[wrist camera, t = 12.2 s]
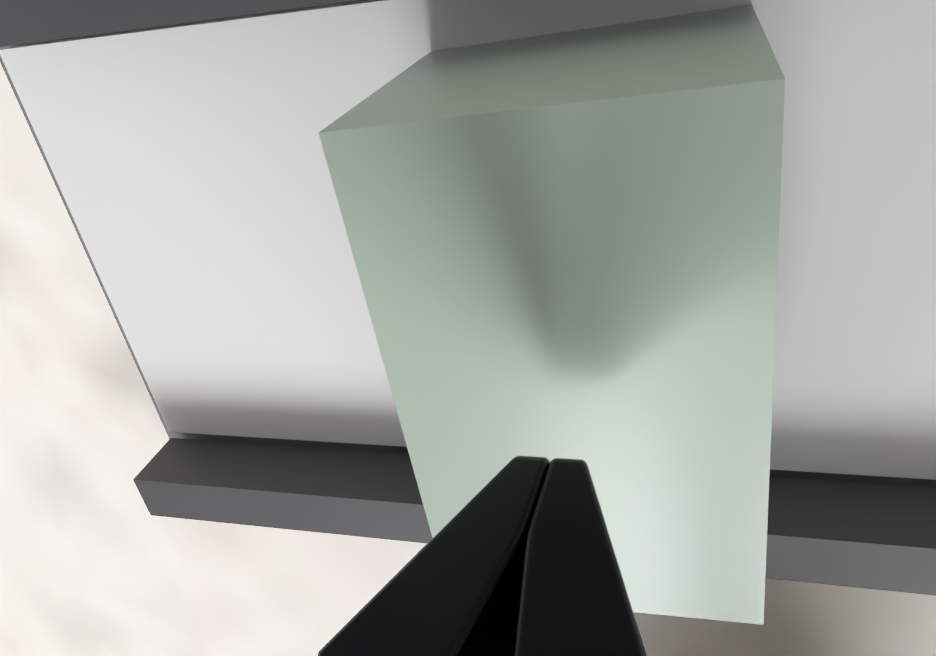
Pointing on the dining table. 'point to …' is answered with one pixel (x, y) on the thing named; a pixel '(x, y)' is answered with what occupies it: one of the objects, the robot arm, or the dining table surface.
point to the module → (586, 281)
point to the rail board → (339, 288)
